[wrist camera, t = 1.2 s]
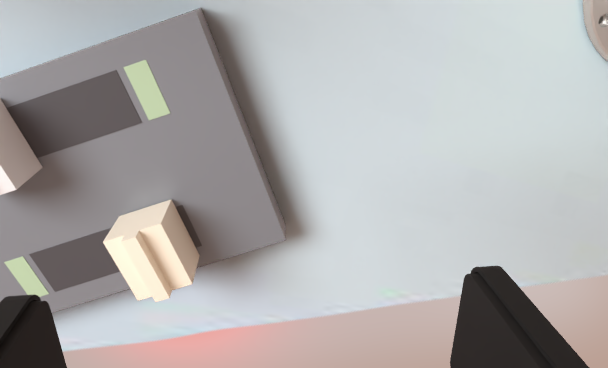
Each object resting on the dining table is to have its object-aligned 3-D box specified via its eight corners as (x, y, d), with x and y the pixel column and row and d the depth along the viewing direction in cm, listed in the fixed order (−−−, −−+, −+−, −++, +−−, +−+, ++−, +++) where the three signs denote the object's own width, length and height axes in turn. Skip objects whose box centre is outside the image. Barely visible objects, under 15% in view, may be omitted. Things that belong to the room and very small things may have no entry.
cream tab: (171, 199, 32) (157, 229, 28) (199, 255, 34) (190, 291, 30) (119, 216, 33) (98, 248, 29) (150, 271, 35) (134, 308, 31)
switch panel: (200, 7, 30) (195, 10, 27) (285, 223, 37) (286, 240, 34) (-128, 123, 31) (-160, 135, 29) (13, 309, 38) (-4, 330, 36)
